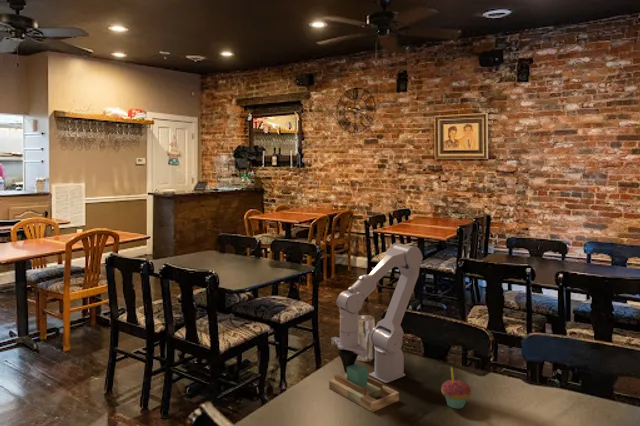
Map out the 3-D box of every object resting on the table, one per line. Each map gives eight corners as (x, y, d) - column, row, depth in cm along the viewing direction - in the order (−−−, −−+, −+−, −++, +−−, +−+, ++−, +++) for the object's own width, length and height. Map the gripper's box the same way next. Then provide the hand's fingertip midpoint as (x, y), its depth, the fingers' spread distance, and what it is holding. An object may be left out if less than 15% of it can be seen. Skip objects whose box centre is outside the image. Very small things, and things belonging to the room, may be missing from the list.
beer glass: (373, 363, 178) (374, 321, 176) (353, 361, 179) (354, 320, 178) (375, 355, 185) (375, 315, 183) (356, 354, 186) (356, 314, 184)
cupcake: (454, 414, 143) (455, 373, 141) (434, 401, 150) (435, 362, 149) (477, 407, 147) (478, 367, 145) (456, 395, 154) (457, 357, 153)
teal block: (356, 378, 160) (356, 363, 159) (367, 384, 156) (367, 368, 155) (346, 382, 157) (346, 366, 157) (357, 388, 153) (357, 372, 153)
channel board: (355, 378, 165) (355, 366, 165) (398, 400, 151) (399, 387, 150) (329, 388, 159) (329, 376, 158) (372, 412, 144) (372, 398, 143)
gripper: (324, 326, 161) (323, 367, 162) (355, 339, 150) (354, 383, 151) (340, 322, 165) (340, 362, 167) (372, 334, 154) (371, 377, 156)
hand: (348, 372), depth 159 cm, fingers closed
